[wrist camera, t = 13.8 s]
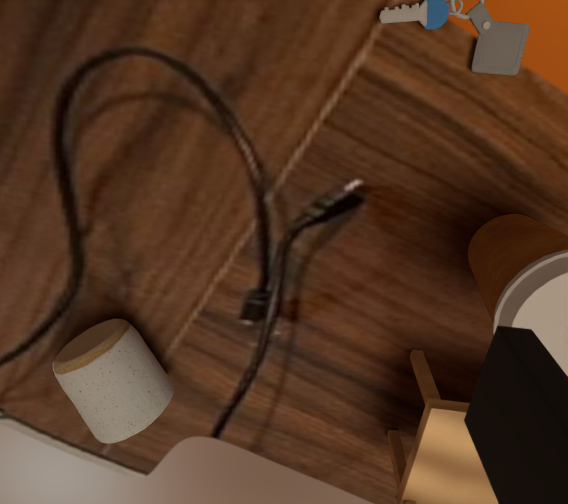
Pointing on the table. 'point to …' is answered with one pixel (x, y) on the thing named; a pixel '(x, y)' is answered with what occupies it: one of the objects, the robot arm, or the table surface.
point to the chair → (439, 452)
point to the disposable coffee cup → (524, 278)
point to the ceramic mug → (113, 380)
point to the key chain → (492, 35)
